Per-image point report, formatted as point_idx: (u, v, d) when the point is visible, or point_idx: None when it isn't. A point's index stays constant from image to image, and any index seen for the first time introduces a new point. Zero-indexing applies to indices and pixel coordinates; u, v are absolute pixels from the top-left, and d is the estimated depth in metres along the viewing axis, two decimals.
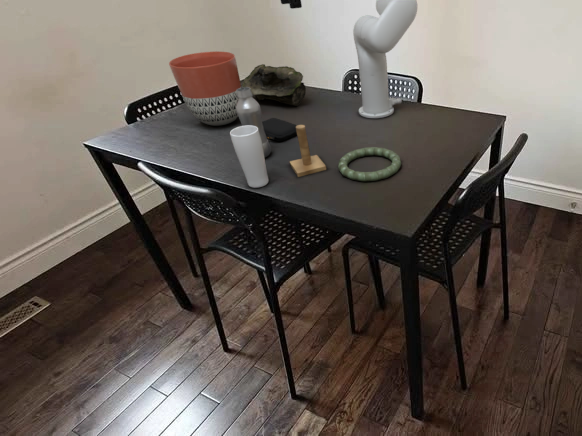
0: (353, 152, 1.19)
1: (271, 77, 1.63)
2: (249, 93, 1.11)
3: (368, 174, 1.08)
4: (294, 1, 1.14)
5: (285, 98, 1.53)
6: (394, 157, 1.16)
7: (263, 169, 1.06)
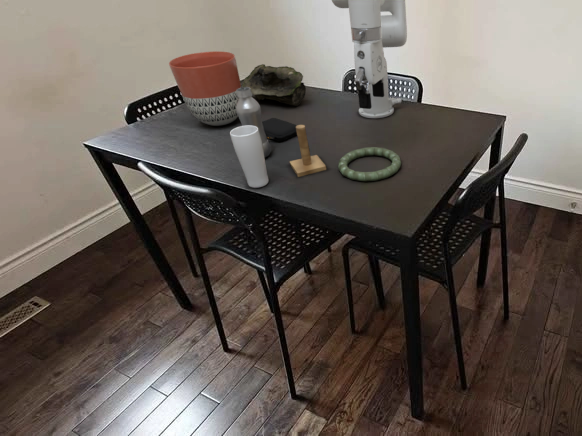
0: (353, 152, 1.19)
1: (271, 77, 1.63)
2: (249, 93, 1.11)
3: (368, 174, 1.08)
4: (362, 102, 1.07)
5: (285, 98, 1.53)
6: (394, 157, 1.16)
7: (263, 169, 1.06)
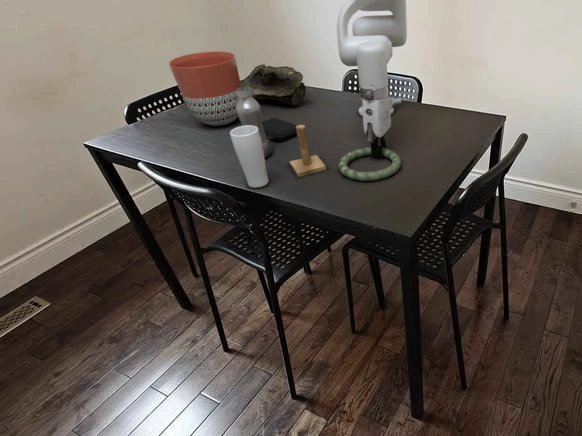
0: (353, 152, 1.19)
1: (271, 77, 1.63)
2: (249, 93, 1.11)
3: (368, 174, 1.08)
4: (374, 152, 1.19)
5: (285, 98, 1.53)
6: (394, 157, 1.16)
7: (263, 169, 1.06)
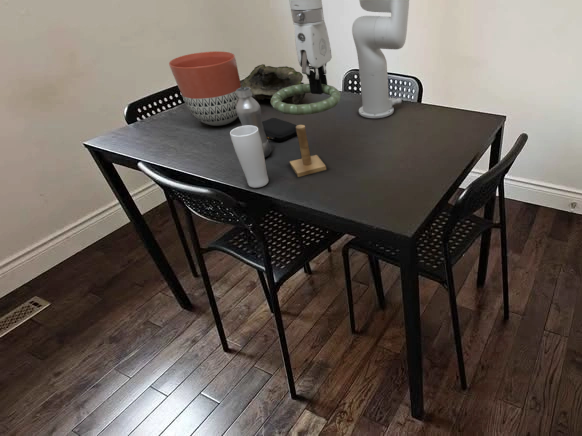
0: (290, 87, 1.08)
1: (271, 77, 1.63)
2: (249, 93, 1.11)
3: (300, 106, 0.98)
4: (312, 88, 1.08)
5: (285, 98, 1.53)
6: (333, 91, 1.05)
7: (263, 169, 1.06)
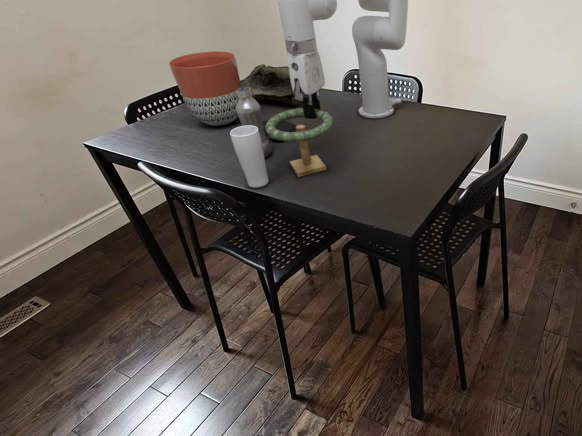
0: (284, 113, 1.13)
1: (271, 77, 1.63)
2: (249, 93, 1.11)
3: (293, 134, 1.02)
4: (306, 113, 1.12)
5: (285, 98, 1.53)
6: (325, 118, 1.10)
7: (263, 169, 1.06)
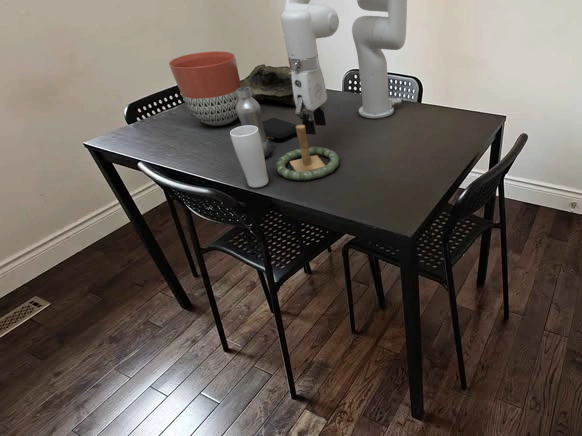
0: (293, 152, 1.20)
1: (271, 77, 1.63)
2: (249, 93, 1.11)
3: (302, 173, 1.09)
4: (306, 128, 1.14)
5: (285, 98, 1.53)
6: (332, 156, 1.17)
7: (263, 169, 1.06)
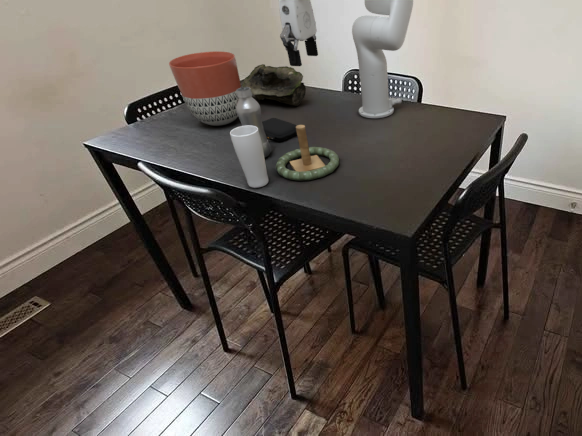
0: (293, 152, 1.20)
1: (271, 77, 1.63)
2: (249, 93, 1.11)
3: (302, 173, 1.09)
4: (291, 59, 1.08)
5: (285, 98, 1.53)
6: (332, 156, 1.17)
7: (263, 169, 1.06)
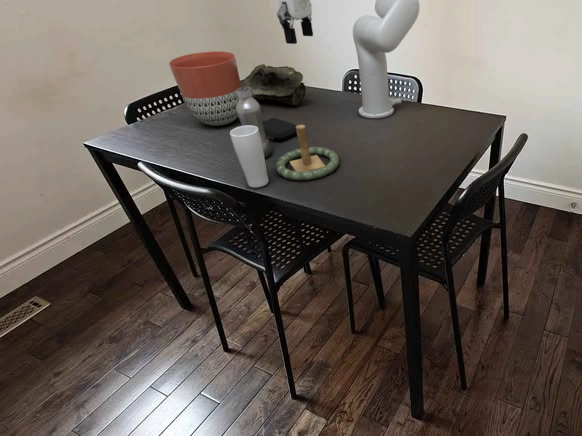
0: (293, 152, 1.20)
1: (271, 77, 1.63)
2: (249, 93, 1.11)
3: (302, 173, 1.09)
4: (287, 37, 1.16)
5: (285, 98, 1.53)
6: (332, 156, 1.17)
7: (263, 169, 1.06)
